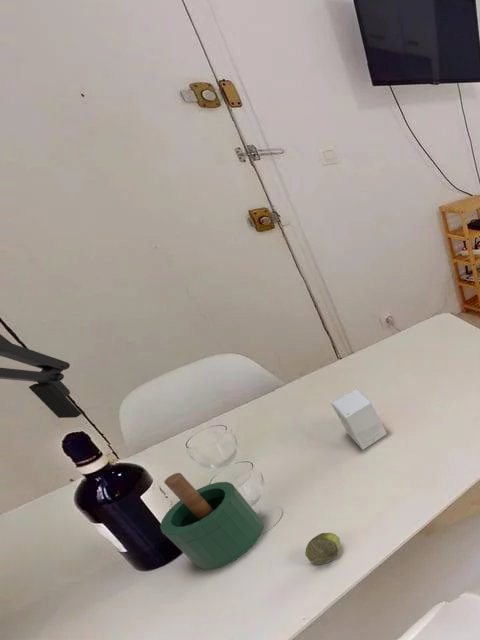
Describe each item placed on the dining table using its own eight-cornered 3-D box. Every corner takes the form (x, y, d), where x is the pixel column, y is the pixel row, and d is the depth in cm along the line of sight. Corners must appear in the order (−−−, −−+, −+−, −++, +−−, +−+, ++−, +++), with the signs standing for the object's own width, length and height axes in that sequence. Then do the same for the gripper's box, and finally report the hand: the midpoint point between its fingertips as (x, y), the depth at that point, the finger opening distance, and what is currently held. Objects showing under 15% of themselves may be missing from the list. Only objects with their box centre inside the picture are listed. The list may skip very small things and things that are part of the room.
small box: (387, 434, 97) (372, 402, 92) (362, 451, 93) (345, 418, 88) (372, 419, 101) (357, 388, 96) (347, 434, 97) (330, 402, 92)
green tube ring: (181, 570, 72) (143, 535, 67) (227, 517, 80) (196, 482, 75) (235, 568, 72) (201, 533, 67) (275, 516, 80) (248, 480, 75)
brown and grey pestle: (208, 551, 74) (147, 490, 65) (227, 529, 77) (172, 467, 69) (230, 550, 74) (173, 489, 65) (248, 528, 77) (196, 466, 69)
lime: (347, 552, 74) (336, 537, 71) (316, 575, 71) (303, 559, 68) (340, 536, 77) (329, 520, 74) (309, 556, 73) (297, 541, 71)
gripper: (-297, 413, 37) (-93, 542, 48) (43, 281, 59) (132, 389, 69) (-383, 416, 37) (-160, 545, 47) (-11, 282, 59) (87, 390, 69)
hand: (14, 452), depth 59 cm, fingers open, 13 cm apart
